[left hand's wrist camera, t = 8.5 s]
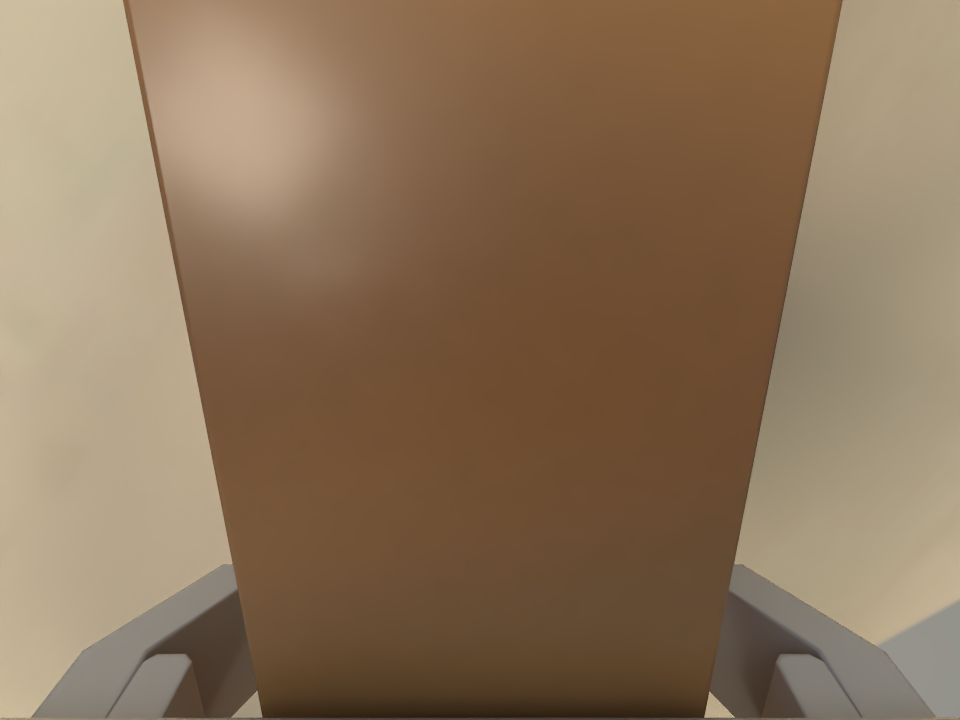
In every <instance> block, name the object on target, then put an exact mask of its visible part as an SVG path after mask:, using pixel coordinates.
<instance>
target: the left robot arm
mask: <svg viewBox="0 0 960 720" xmlns="http://www.w3.org/2000/svg"><path fill="white" fill-rule="evenodd" d="M256 691H257V685H256V680H255V675H254V670H253V664H252V659H251V654H250V649H249V644H248V639H247V634H246V628H245V623H244V618H243V613H242V608H241V603H240V598H239V593H238V587H237V582H236V577H235V572H234V567H233V563H232V565H222V566H220V567H219V568H217V569H215V570H214V571H212V572H210V573H209V574H207V575H206V576H204V577H202V578H201V579H199V580H197V581H196V582H194V583H193V584H191V585H189V586H188V587H186V588H184V589H183V590H181V591H180V592H178V593H176V594H175V595H173V596H171V597H170V598H168V599H167V600H165V601H163V602H162V603H160V604H158V605H157V606H155V607H154V608H152V609H150V610H149V611H147V612H145V613H144V614H142V615H141V616H139V617H137V618H136V619H134V620H132V621H131V622H129V623H128V624H126V625H124V626H123V627H121V628H119V629H118V630H116V631H115V632H113V633H111V634H110V635H108V636H106V637H105V638H103V639H102V640H100V641H98V642H97V643H95V644H93V645H92V646H90V647H89V648H87V649H85V650H84V651H82V652H81V654H80V655H79V656H78V658H77V659H76V660H75V661H74V663H73V664H72V665H71V667H70V668H69V669H68V670H67V672H66V673H65V674H64V676H63V677H62V678H61V680H60V681H59V682H58V683H57V685H56V686H55V687H54V689H53V690H52V691H51V692H50V694H49V695H48V696H47V698H46V699H45V700H44V702H43V703H42V704H41V705H40V707H39V708H38V709H37V711H36V712H35V713H34V714H33V716H32V717H31V718H0V720H960V718H937V717H936V716H935V715H934V713H933V712H932V711H931V710H930V708H929V707H928V706H927V704H926V703H925V702H924V701H923V699H922V698H921V697H920V695H919V694H918V693H917V692H916V690H915V689H914V688H913V686H912V685H911V684H910V683H909V681H908V680H907V679H906V677H905V676H904V675H903V674H902V672H901V671H900V670H899V669H898V667H897V666H896V665H895V663H894V662H893V661H892V660H891V658H890V657H889V656H888V654H887V653H886V652H884V651H883V650H881V649H880V648H878V647H876V646H875V645H873V644H871V643H870V642H868V641H866V640H865V639H863V638H862V637H860V636H858V635H857V634H855V633H853V632H852V631H850V630H849V629H847V628H845V627H844V626H842V625H840V624H839V623H837V622H835V621H834V620H832V619H831V618H829V617H827V616H826V615H824V614H822V613H821V612H819V611H817V610H816V609H814V608H813V607H811V606H809V605H808V604H806V603H804V602H803V601H801V600H799V599H798V598H796V597H795V596H793V595H791V594H790V593H788V592H786V591H785V590H783V589H781V588H780V587H778V586H777V585H775V584H773V583H772V582H770V581H768V580H767V579H765V578H764V577H762V576H760V575H759V574H757V573H755V572H754V571H752V570H750V569H749V568H747V567H746V566H744V565H733V570H732V576H731V581H730V586H729V591H728V596H727V601H726V607H725V612H724V617H723V622H722V627H721V633H720V638H719V643H718V648H717V653H716V658H715V664H714V669H713V674H712V679H711V684H710V690H709V691H710V692H711V693H712V694H713V695H714V696H715V697H716V698H717V699H718V700H719V701H720V702H721V703H722V704H723V705H724V706H725V707H726V708H727V709H728V710H729V711H730V713H731V714H732V715H733V716H734V717H735V718H231V717H232V716H233V715H234V714H235V713H236V712H237V710H238V709H239V708H240V707H241V706H242V705H243V704H244V703H245V702H246V701H247V700H248V699H249V698H250V697H251V696H252V695H253V694H254V693H255V692H256Z"/></svg>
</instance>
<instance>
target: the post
mask: <svg viewBox="0 0 960 720" xmlns="http://www.w3.org/2000/svg"><path fill="white" fill-rule="evenodd" d="M123 2H124V8H125V13H126V18H127V23H128V28H129V33H130V38H131V43H132V49H133V54H134V59H135V64H136V69H137V74H138V79H139V84H140V90H141V95H142V100H143V105H144V110H145V115H146V120H147V126H148V131H149V136H150V141H151V146H152V151H153V156H154V161H155V167H156V172H157V177H158V182H159V187H160V192H161V197H162V203H163V208H164V213H165V218H166V223H167V228H168V233H169V238H170V244H171V249H172V254H173V259H174V264H175V269H176V274H177V280H178V285H179V290H180V295H181V300H182V305H183V310H184V315H185V321H186V326H187V331H188V336H189V341H190V346H191V351H192V356H193V362H194V367H195V372H196V377H197V382H198V387H199V392H200V398H201V403H202V408H203V413H204V418H205V423H206V428H207V433H208V439H209V444H210V449H211V454H212V459H213V464H214V469H215V475H216V480H217V485H218V490H219V495H220V500H221V505H222V510H223V516H224V521H225V526H226V531H227V536H228V541H229V546H230V551H231V557H232V562H233V567H234V572H235V577H236V582H237V587H238V593H239V598H240V603H241V608H242V613H243V618H244V623H245V628H246V634H247V639H248V644H249V649H250V654H251V659H252V664H253V670H254V675H255V680H256V685H257V690H258V695H259V700H260V705H261V711H262V716H263V718H704V715H705V710H706V705H707V700H708V695H709V690H710V684H711V679H712V674H713V669H714V664H715V658H716V653H717V648H718V643H719V638H720V633H721V627H722V622H723V617H724V612H725V607H726V601H727V596H728V591H729V586H730V581H731V576H732V570H733V565H734V560H735V555H736V550H737V544H738V539H739V534H740V529H741V524H742V519H743V513H744V508H745V503H746V498H747V493H748V487H749V482H750V477H751V472H752V467H753V462H754V456H755V451H756V446H757V441H758V436H759V430H760V425H761V420H762V415H763V410H764V405H765V399H766V394H767V389H768V384H769V379H770V373H771V368H772V363H773V358H774V353H775V348H776V342H777V337H778V332H779V327H780V322H781V316H782V311H783V306H784V301H785V296H786V290H787V285H788V280H789V275H790V270H791V265H792V259H793V254H794V249H795V244H796V239H797V233H798V228H799V223H800V218H801V213H802V208H803V202H804V197H805V192H806V187H807V182H808V176H809V171H810V166H811V161H812V156H813V151H814V145H815V140H816V135H817V130H818V125H819V119H820V114H821V109H822V104H823V99H824V94H825V88H826V83H827V78H828V73H829V68H830V62H831V57H832V52H833V47H834V42H835V37H836V31H837V26H838V21H839V16H840V11H841V5H842V0H123Z"/></svg>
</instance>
